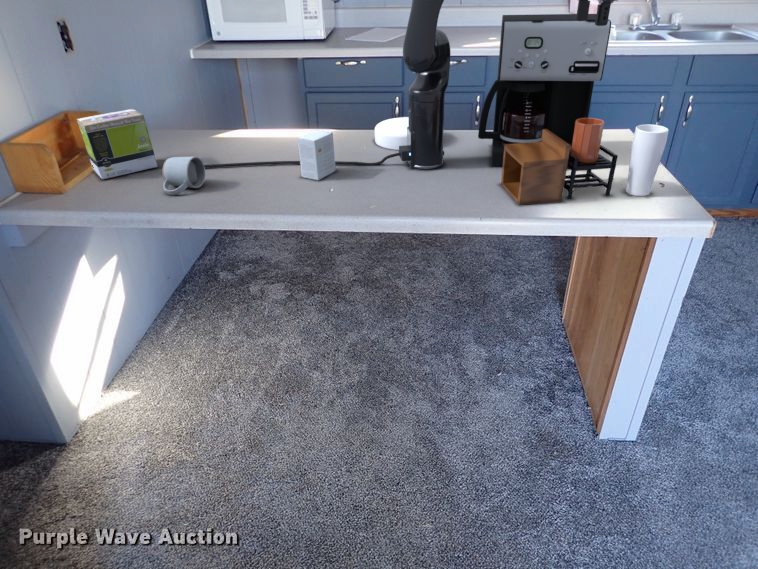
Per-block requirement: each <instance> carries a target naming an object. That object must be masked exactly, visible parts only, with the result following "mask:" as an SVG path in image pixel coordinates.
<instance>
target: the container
mask: <svg viewBox="0 0 758 569" xmlns="http://www.w3.org/2000/svg"><path fill="white" fill-rule="evenodd" d="M407 127H409V116H399V117H393V118H388V119H384V120H382V121H380V122H378V123H377V124H375V126H374V142H375V144H376V145H378V146H379V147H381V148H384V149H388V150H389V149H390V150H395V151H399V146H406V145H407Z"/></svg>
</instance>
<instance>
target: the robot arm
mask: <svg viewBox="0 0 758 569" xmlns="http://www.w3.org/2000/svg"><path fill="white" fill-rule="evenodd" d="M577 1H578V2H577V9H576V14H577V15H576V20H577V21H586V20H587V19H588V14H590V13H589V12H590V5H591V0H577ZM615 1H616V2H617V1H619V0H598V4H597V9H596V14H597V15H596V21H595V25H596V26H605V25H607V23H608V19H609V17H610V11H611V6H612V4H613V3H614V2H615ZM444 2H445V0H411V7H410V12H409V17H408V21H407V22H408V23H407V26H406V30H405V35H404V39H403V45H402V58H403V61H404V65H405V66H406V68H407V69H408V70H409V71H410V72H411V73H413V74H416V77H415V79H414V81H413V82H412V84H411V85H410V86H409V87H408V88H409V89H408V117H409V127H407V145H406V146H399V150H398V152H396V153H391V154H389V155H388V154H387V155H386V156H384V157H383V158H382V159H381V160H380V161H375V162H362V161H343V160H342V161H339V160H338V161H337V160H335V165H344V166H345V165H347V166H348V165H349V166H350V165H354V166H366V167H367V166H368V167H369V166H379V165H381V164H382V165H383V163H385V161H387V160H389V159H392V158H395V157H400V160H401V162H407V164H408V166H409V168H410V169H417V170H433V169H438V168H440V167H443V164H444V157H445V151H444V135H445V134H444V132H445V131H444V129H445V103H446V102H445V100H446V91H447V89H448V85H449V80H450V68H451V44H450V40H449V38H448V36H447V34H446V33H445V32H444V31H443V30H441V29H439V28H438V22H439V17H440V13H441V9H442V6H443V5H444ZM263 165H264V166H267V165H301V164H300V160H273V161H271V160H270V161H250V162H249V161H248V162H232V163H212V164H211V163H210V164H204V167H205V169H207V168H224V167H225V168H227V167H242V166H243V167H244V166H245V167H246V166H263Z"/></svg>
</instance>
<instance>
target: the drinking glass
mask: <svg viewBox="0 0 758 569" xmlns="http://www.w3.org/2000/svg"><path fill="white" fill-rule="evenodd" d="M669 131H670V130H669V128H667V127H665V126H663V125H660V124H659V125H658V124H647V123H646V124H639V125H636V126H635V129H634V131H633V132H634V133H633V137H632V141H631V145H630V155H629V162H628V163H629V164H628V170H627V178H626V184H625V192H626V193H627V194H628V195H631V196H635V197H646V196H648V195H650V193H651V191H652V188H653V184H654V180H655V179H656V178H655V177H656V176H657V172H658V169H659V166H660V163H661V161H662V157H663V155H664V151H665V148H666V145H667V140H668V136H669Z"/></svg>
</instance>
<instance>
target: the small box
mask: <svg viewBox="0 0 758 569" xmlns="http://www.w3.org/2000/svg"><path fill="white" fill-rule="evenodd" d="M297 146H298V154H299V161H300V164H299V165H300V172H301V173H300V174H301V177H302V178H305V179H309V180H314V181H320V180H322V179H324V178H325V177H327V176H329V175H331V174H333V173H335V172H336V164H335V161H336V158H335V144H334V133H333V132H332V131H325V130H320V129H314V130H313V131H310V132H308V133H305V134H303V135H301V136H299V137H297Z"/></svg>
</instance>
